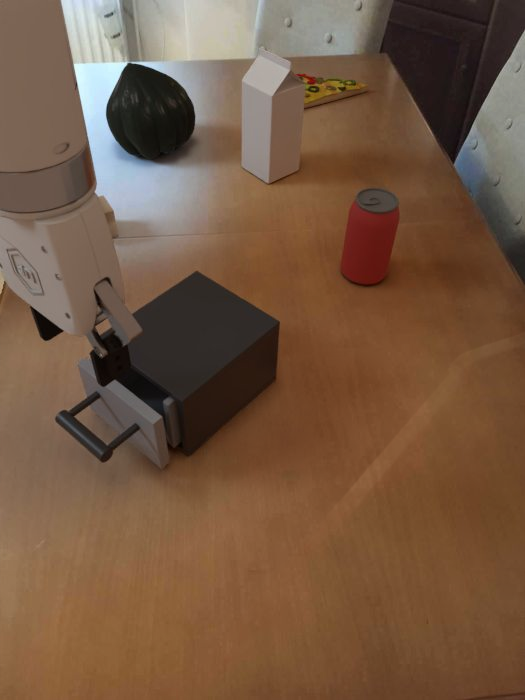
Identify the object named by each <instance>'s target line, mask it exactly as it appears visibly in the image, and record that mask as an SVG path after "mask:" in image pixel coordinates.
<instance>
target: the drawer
mask: <svg viewBox="0 0 525 700" xmlns="http://www.w3.org/2000/svg"><path fill="white" fill-rule="evenodd" d="M76 366H77V368H78V372H79V375H80V378H81V381H82V385H83V388H84V391H85V395H86V397H85V398H84V399H83V400H82V401H80V402H79V403H77V404H76V405H75V406H73V407H72V408H71V409H69V410H67V409H62V410H61V411H58V413H57V414H56V415H55V418H54V421H55V423H56V424H58V425H59V426H60V427H61V428H62V429H63V430H65V432H67V433H68V434H69V435H70V436H71V437H72V438H73V439H75V440H76V441H77V442H78V443H79V444H80V445H81V446H82V447H84V448H85V450H86V451H88V452H89V453H90V454H92V455H93V457H95V458H96V459H97V460H98V461H99V462H100V463H107V462H108V461H109V460H110V459H111V458H112V457H113V455H114V451H115V450H116V449H117V448H118V447H120V446H121V445H122V444H123V443H124V442H126V441H127V442H129V443H130V445H132V447H134V448H136V449H137V451H139V452H140V453H142V454H143V456H145V457H146V458H148V460H150V461H151V463H154V464H155V465H156V466H157V467H158V468H159V469H163V468H165V466H166V465H168V464H169V463H170V454H169V449H168V445H170V446H171V447H172V448H173V449H174V448H177V447H176V446H177V445H178V444H179V443H181V442H182V438H181V429H180V421H179V413H178V405H177V402H176V401H175V400H174V399H172V398H171V397H170V396H168V395H167V394H166V393H164V392H163V391H162V390H160V389H159V388H158V387H156V386H155V385H154V384H152V383H151V382H150V381H148V380H147V379H146V378H144V377H143V376H142V375H141V374H139V373H138V372H137V371H135V370H134V369H133V368H131V367H130V369H129V370H127V371H126V372H125V373H124V374H123V375H122V376H121V377H119V378H117V379H115V380H114V381H112V382H111V383H109V384H108V385H107V386H105V387H102V386H101V385H99V384H98V383H97V379H96V375H95V372H94V368H93V364H92V361H91V359H90V358H89V357H87V356H85V357H84V358H82V359H81V360H79V361H78V362H77V363H76ZM88 407H89V408H90V411H92V413H94V414H95V416H98V418H100V419H101V420H102V421H103V422H104V423H106V424H107V425H108V426H109V427H110V428H112V429H113V430H114V431H116V432H117V433H118V434H119V435H118V436H117V437H115V438H114V439H113V440H112V441H110V442H109V443H108V444H107V443H106V442H105V441H103V440H102V439H101V438H99V437H98V436H97V435H96V434H95V433H94V432H92V430H90V429H89V428H88V427H87V426H86V425H85V424H84V423H82V422H81V421H80V420H79V419H77V418H76V417H77V415H78V414H80V413H81V412H83V411H84V410H86V409H87V408H88Z"/></svg>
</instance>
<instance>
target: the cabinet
mask: <svg viewBox="0 0 525 700" xmlns="http://www.w3.org/2000/svg"><path fill="white" fill-rule="evenodd" d="M131 314H132V315H133V317H134V318H135V320H136V321H137V322H138V324H139V325H140V326H141V328H142V330H143V333H142V334H141V335H139V336H138V337H137V338H135V339H134V340H132V341H131V342H130V343H128V344H127V345H128V350H129V355H130V360H131V368H133V369H134V370H135V371H137V372H138V373H139V374H141V375H142V376H143V377H144V378H146V379H147V380H148V381H150V382H151V383H152V384H154V385H155V386H156V387H158V388H159V389H160V390H162V391H163V392H164V393H166V394H167V395H168V396H170V397H171V398H172V399H174V400H175V401H176V402H177V405H178V413H179V421H180V429H181V438H182V442H181V443H179V444H178V445H177V446H176V447H175V448H176V449H178V450H179V451H180V452H181V453H182V454H184V455H185V456H186V457H188V458H189V457H190V456H191V455H193V454H194V453H195V452H196V451H197V450H199V448H201V447H202V446H203V445H204V444H205V443H206V442H207V441H208V440H209V439H210V438H211V437H213V436H214V435H215V434H216V433H217V432H218V431H220V429H222V428H223V427H224V426H225V425H226V424H228V423H229V422H230V421H231V419H233V418H234V417H235V416H236V415H237V414H239V413H240V412H241V411H242V410H243V409H245V408H246V406H247V405H248V404H250V403H251V402H252V401H253V400H255V398H257V397H258V396H259V395H260V394H261V393H262V392H263V391H264V390H265V389H267V388H268V387H269V386H270V385H271V384H272V383H274V382H275V380H277V372H278V371H277V369H278V358H279V357H278V356H279V355H278V354H279V343H280V342H279V341H280V328H281V327H280V326H281V321H280V320H279V319H277V318H275V317H274V316H272V315H270V314H269V313H267V312H265V311H264V310H262V309H260V308H259V307H257V306H256V305H254V304H252V303H251V302H249V301H247V300H245V298H243V297H241V296H239V295H237V294H236V293H234V292H232V291H231V290H230V289H228V288H226V287H224V286H223V285H221V284H219V283H218V282H216V281H215V280H213V279H211V278H210V277H208V276H206V275H205V274H203V273H202V272H200V271H198V270H196V271H194V272H192V273H191V274H189V275H187V276H186V277H185V278H183V279H182V280H181V281H179V282H177V283H176V284H175V285H173V286H171V287H170V288H169V289H167V290H166V291H164V292H162V293H161V294H160V295H158V296H157V297H155V298H153V299H152V300H150V301H149V302H147V303H146V304H144V305H143V306H141V307H140V308H138V309H137V310H136V311H134V312H132V313H131ZM113 331H114V330H113V328H112V326H111V327H110V328H109V329H106V330H105V331H103V332H102V333H100V334H99V335H100V337H101V339H103V338H104V337H105V336H107V335H108V334H110V333H111V332H113Z"/></svg>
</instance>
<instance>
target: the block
mask: <svg viewBox="0 0 525 700" xmlns="http://www.w3.org/2000/svg"><path fill="white" fill-rule="evenodd" d="M98 198H99V201H100V203H101V206H102V209H103V211H104V214H105V217H106V220H107V223H108V226H109V229H110V232H111V236H112V239H113V238H117V237H119V233H118V231H119V230H118V226H117V221H116V215H115V210H114V209H113V208H112V206H111V204H110V203H109V201H108V199H106V197H105V196H104V195H98Z"/></svg>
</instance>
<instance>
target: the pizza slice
mask: <svg viewBox="0 0 525 700" xmlns="http://www.w3.org/2000/svg"><path fill="white" fill-rule="evenodd" d="M295 74H296V75H297V76H298V77H299V78H300V79H301V80H302V81H303V82H304V83H305V84H306V87H305V100H304V109H307V108H311V107H316V106H320V105H323V104H327V103H330V102H334V101H337V100H341V99H345V98H347V97H348V98H349V97H351V96H356V95H359V94H364V93H366V92H367V91H368V88H369V85H368V84H364V83H360V82H359V81H356V80H354V79H345V80H343V79H342V78H340V77H338V78H337V77H331V78H326V79H324V78H323V77H321V76H319V77H316V76H310V75H307V74H306V73H295Z"/></svg>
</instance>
